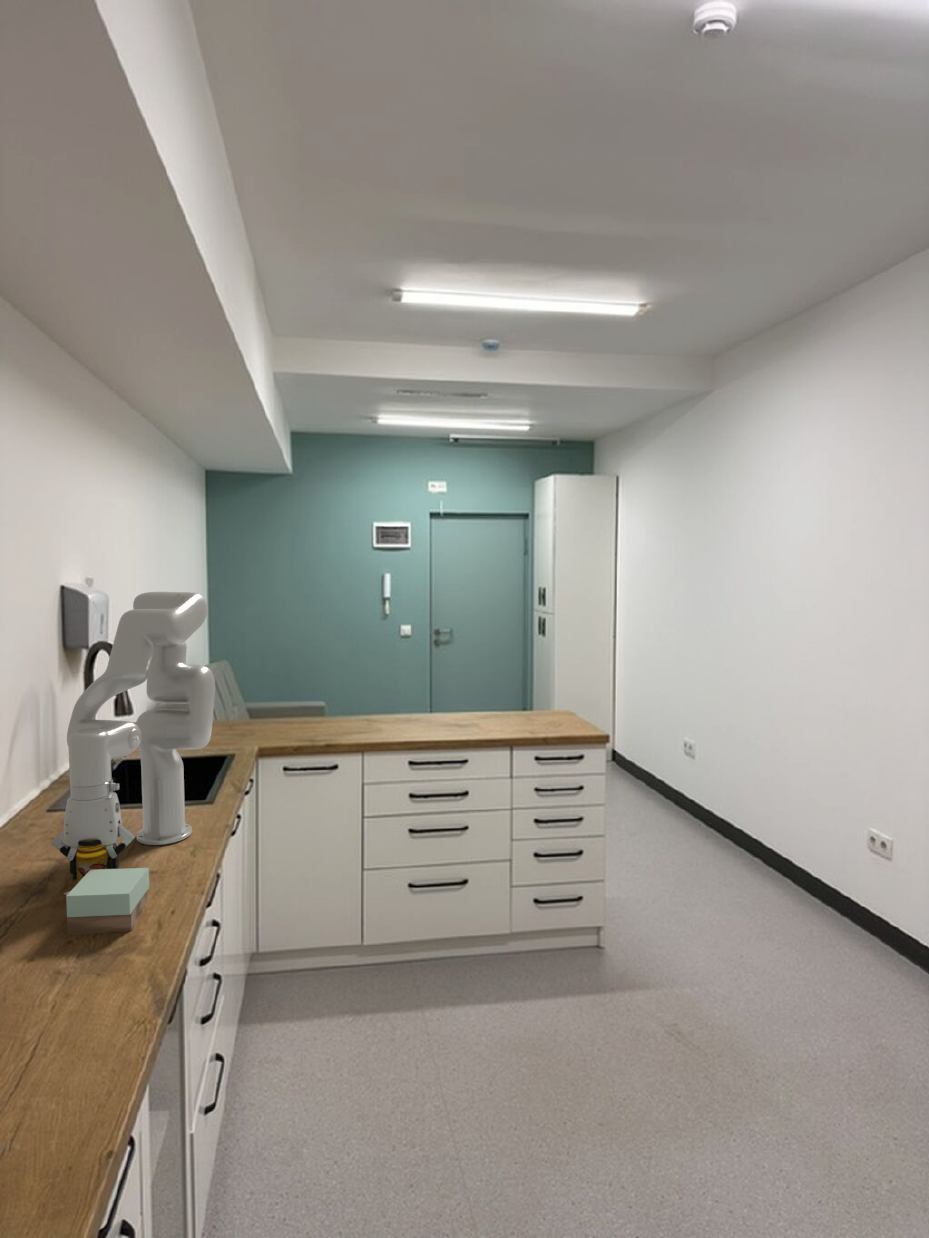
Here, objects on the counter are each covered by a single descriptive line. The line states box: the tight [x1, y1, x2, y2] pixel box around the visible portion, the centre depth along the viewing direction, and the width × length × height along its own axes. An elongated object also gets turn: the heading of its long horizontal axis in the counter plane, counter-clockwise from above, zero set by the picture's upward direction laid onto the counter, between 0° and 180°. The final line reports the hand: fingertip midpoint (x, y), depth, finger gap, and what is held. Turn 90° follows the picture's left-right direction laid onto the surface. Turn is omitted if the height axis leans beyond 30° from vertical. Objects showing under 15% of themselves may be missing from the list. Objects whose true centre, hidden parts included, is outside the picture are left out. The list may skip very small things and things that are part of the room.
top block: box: [65, 867, 150, 918], centre depth 138 cm, size 11×11×4 cm
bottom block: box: [66, 890, 148, 936], centre depth 139 cm, size 11×11×4 cm
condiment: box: [63, 840, 110, 896], centre depth 149 cm, size 7×8×12 cm
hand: (94, 874), depth 149 cm, fingers closed on condiment, 6 cm apart
